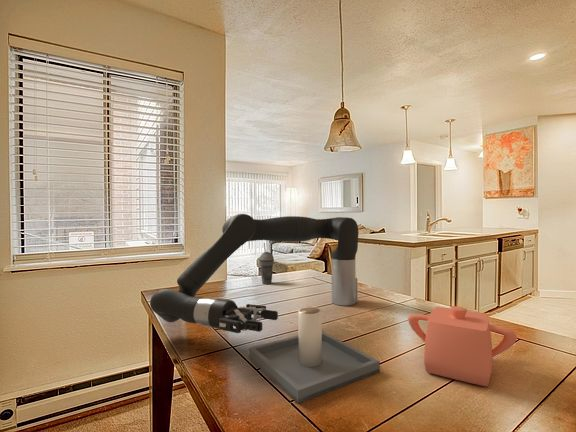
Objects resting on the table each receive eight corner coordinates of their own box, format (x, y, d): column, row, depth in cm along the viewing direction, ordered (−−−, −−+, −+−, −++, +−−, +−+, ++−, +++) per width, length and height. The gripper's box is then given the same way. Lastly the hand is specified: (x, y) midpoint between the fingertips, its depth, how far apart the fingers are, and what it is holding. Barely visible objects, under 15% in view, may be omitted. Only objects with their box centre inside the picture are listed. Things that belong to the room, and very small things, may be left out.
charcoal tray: (320, 338, 91) (320, 329, 91) (379, 372, 72) (379, 361, 72) (248, 357, 79) (248, 347, 79) (297, 403, 61) (297, 390, 61)
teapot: (519, 399, 62) (520, 327, 62) (401, 369, 74) (401, 308, 73) (512, 358, 79) (513, 301, 78) (417, 339, 90) (417, 289, 90)
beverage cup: (272, 285, 154) (271, 243, 154) (257, 284, 156) (257, 243, 155) (275, 282, 162) (275, 242, 161) (261, 281, 163) (261, 242, 163)
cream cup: (313, 353, 79) (312, 305, 79) (327, 362, 75) (326, 311, 74) (294, 359, 77) (293, 309, 76) (307, 369, 72) (306, 316, 72)
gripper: (198, 306, 79) (255, 314, 73) (230, 292, 93) (281, 298, 86) (198, 336, 80) (256, 347, 73) (230, 318, 93) (281, 326, 86)
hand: (269, 321), depth 80 cm, fingers open, 8 cm apart
